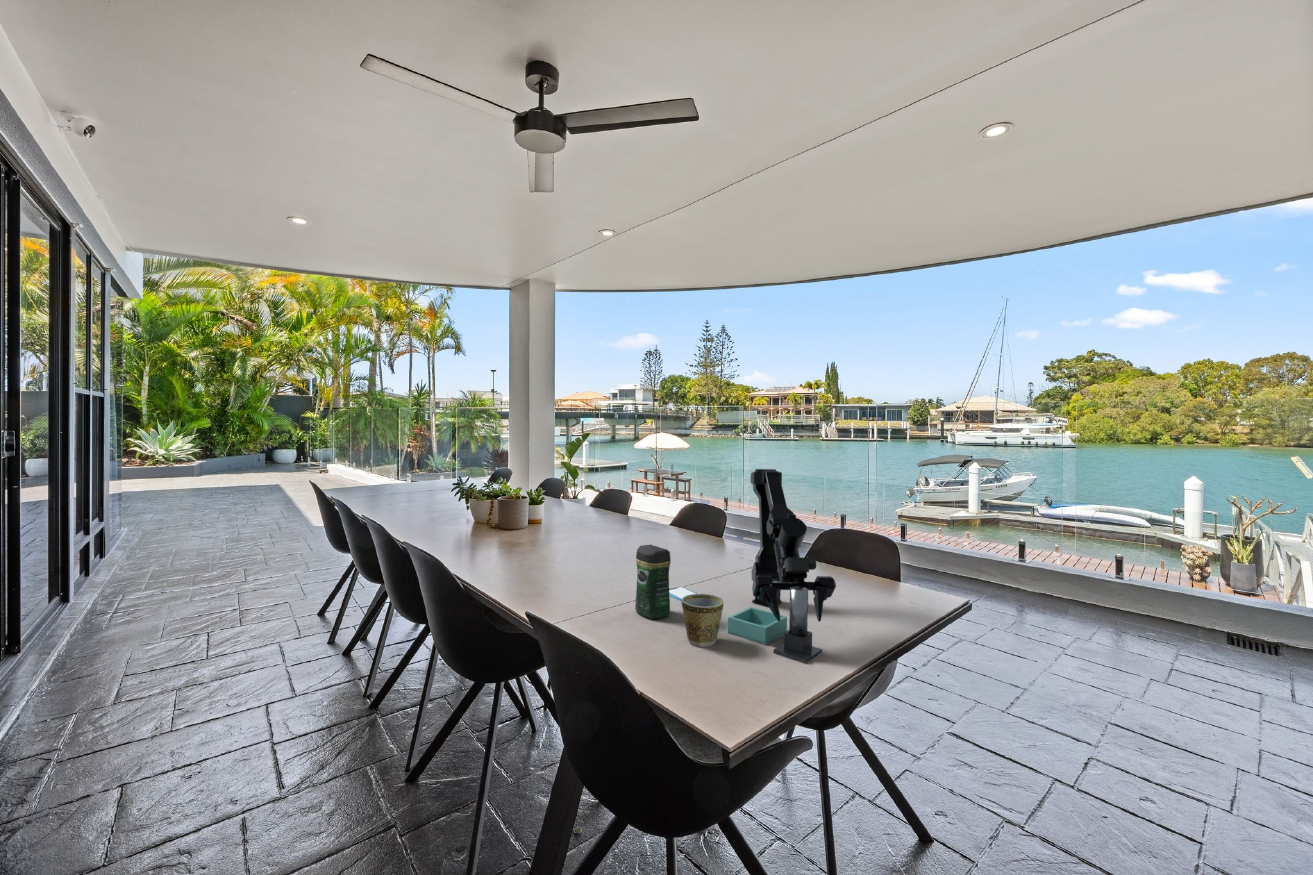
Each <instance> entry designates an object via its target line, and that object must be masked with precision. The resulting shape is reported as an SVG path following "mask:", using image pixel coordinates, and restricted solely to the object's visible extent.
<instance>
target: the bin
mask: <svg viewBox="0 0 1313 875" xmlns="http://www.w3.org/2000/svg"><path fill="white" fill-rule="evenodd" d="M786 631H788V616H786V615H783V614H782V615H781V614H780V621H777V619H776V617H775V616H774V614H773V613H772V611H767V610H764V609H760V608H755V607H753V606H748V607H747V608H745V609H743V610H741V611H739V612H736V613H734V614H731V615H729V616H728V617H727V634H729V635H732V636H734V637H735V636H736V637H739V638H742V639H745V640H748V641H751V642H753V643H754V642H755V643H756V644H761V645H764V646H766V645H768V644H770V643H771V642H773V641H775V640H777V639H778V638H780V637H782V636H784V632H786Z"/></svg>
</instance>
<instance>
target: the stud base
mask: <svg viewBox="0 0 1313 875" xmlns="http://www.w3.org/2000/svg"><path fill="white" fill-rule="evenodd" d="M801 637H803V636H801ZM822 653H823V649H822V648H820V647H816V646H814V645H812V650H810V651H809V652H807V653H806V654H804V655H799V654H796V653H793V652H790V651H787V650H784V643H782V644H781V645H779V646H777V647H775V648H773V654H775V655H778V656H781V657H784V658H787V659H790V660H793V661H795V662H800V663H803V664H805V665H807V664H808V663H809V662H811V661H813V660H814V659H815V658H816V657H818V656H819V655H821V654H822Z"/></svg>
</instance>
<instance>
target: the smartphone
mask: <svg viewBox="0 0 1313 875" xmlns="http://www.w3.org/2000/svg"><path fill="white" fill-rule="evenodd" d="M691 594H698V593H697V592H695V591H693V590H691V589H689V588H687V587H684V586H677V587H672V588H669V597H671V598H673V599H675V600H677V601H680V602H682V598H683V597H685V596H687V595H691Z"/></svg>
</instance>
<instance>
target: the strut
mask: <svg viewBox="0 0 1313 875" xmlns="http://www.w3.org/2000/svg"><path fill="white" fill-rule="evenodd" d="M808 618H809V590H808V589H807V588H805V587H800V586H794V587H791V588H790V590H789V622H788V623H789V625H788V626H789V629H787V631H786V632H784V634H783V644H784V650H787V651H790V652H793V653H796V654H799V655H804V654H806V653H807V652H809V651H810V650H812V646H813V632H812V631H809V630H808V623H809V622H808V620H809V619H808ZM801 636H803V637H801Z"/></svg>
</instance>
